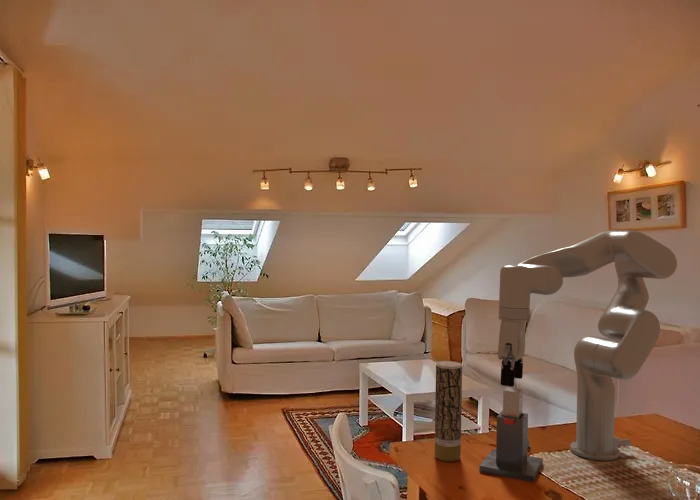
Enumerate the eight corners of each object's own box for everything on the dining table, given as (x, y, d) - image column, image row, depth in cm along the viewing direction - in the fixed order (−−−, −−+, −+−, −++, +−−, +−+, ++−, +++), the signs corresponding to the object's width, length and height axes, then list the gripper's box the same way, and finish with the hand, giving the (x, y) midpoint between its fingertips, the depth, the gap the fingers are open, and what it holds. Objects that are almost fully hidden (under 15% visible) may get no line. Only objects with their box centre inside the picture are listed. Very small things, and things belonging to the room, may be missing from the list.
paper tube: (460, 463, 150) (462, 367, 150) (433, 461, 152) (435, 366, 151) (460, 454, 157) (462, 361, 156) (435, 452, 158) (436, 360, 158)
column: (505, 455, 151) (506, 386, 150) (521, 458, 149) (523, 388, 148) (501, 461, 147) (502, 390, 147) (518, 464, 145) (519, 392, 145)
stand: (492, 454, 157) (493, 404, 157) (542, 464, 151) (543, 412, 150) (479, 471, 145) (480, 418, 145) (533, 482, 139) (534, 426, 139)
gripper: (506, 309, 156) (504, 373, 157) (490, 316, 141) (488, 386, 141) (535, 312, 153) (533, 377, 153) (522, 319, 138) (519, 391, 138)
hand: (511, 381), depth 147 cm, fingers open, 9 cm apart
